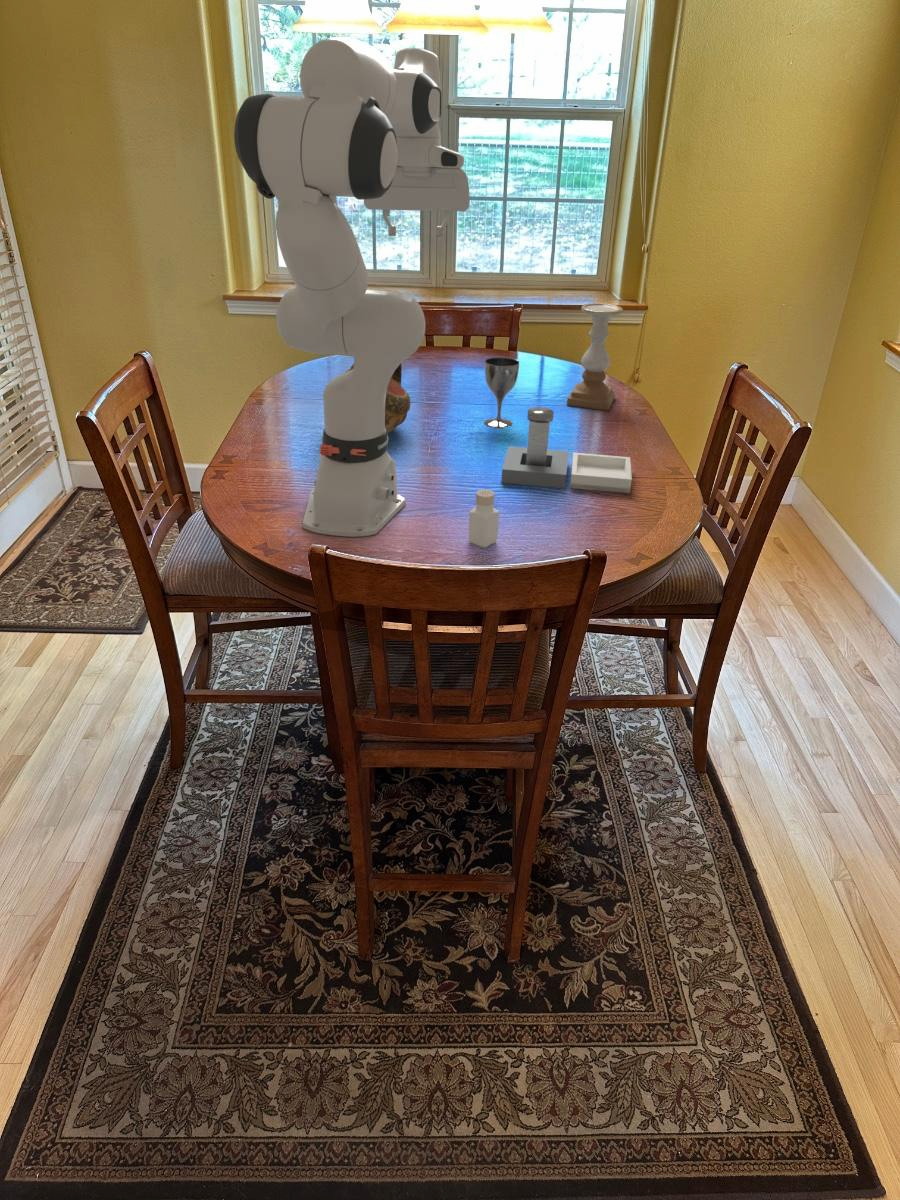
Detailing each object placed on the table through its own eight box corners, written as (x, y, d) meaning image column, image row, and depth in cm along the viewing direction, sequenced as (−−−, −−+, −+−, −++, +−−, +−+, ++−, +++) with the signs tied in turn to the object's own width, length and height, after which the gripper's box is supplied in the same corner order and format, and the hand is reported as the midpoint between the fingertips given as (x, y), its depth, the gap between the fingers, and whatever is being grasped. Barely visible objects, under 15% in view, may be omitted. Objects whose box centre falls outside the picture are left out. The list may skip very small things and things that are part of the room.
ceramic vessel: (312, 449, 178) (304, 333, 164) (360, 413, 199) (357, 308, 185) (383, 460, 173) (381, 342, 160) (425, 422, 194) (426, 315, 181)
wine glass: (504, 431, 190) (509, 368, 182) (476, 424, 194) (478, 362, 186) (520, 422, 196) (525, 360, 188) (492, 415, 200) (495, 354, 192)
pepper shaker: (484, 549, 140) (486, 500, 135) (466, 542, 142) (468, 493, 137) (498, 542, 143) (501, 493, 138) (481, 534, 145) (483, 486, 140)
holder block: (564, 488, 163) (566, 474, 161) (501, 482, 165) (502, 469, 163) (567, 464, 174) (568, 451, 172) (507, 459, 176) (508, 446, 174)
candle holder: (608, 410, 205) (621, 314, 192) (565, 405, 208) (576, 309, 195) (614, 398, 214) (627, 305, 201) (574, 393, 217) (584, 300, 204)
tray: (629, 493, 162) (631, 479, 160) (569, 487, 163) (571, 474, 162) (628, 470, 172) (630, 457, 170) (571, 465, 173) (573, 452, 172)
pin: (546, 479, 167) (552, 416, 160) (521, 477, 167) (526, 414, 160) (548, 469, 171) (554, 408, 164) (523, 467, 172) (528, 406, 165)
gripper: (360, 154, 146) (362, 237, 153) (472, 157, 147) (469, 239, 154) (361, 152, 151) (363, 232, 158) (469, 155, 152) (466, 234, 160)
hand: (416, 236), depth 156 cm, fingers open, 8 cm apart
